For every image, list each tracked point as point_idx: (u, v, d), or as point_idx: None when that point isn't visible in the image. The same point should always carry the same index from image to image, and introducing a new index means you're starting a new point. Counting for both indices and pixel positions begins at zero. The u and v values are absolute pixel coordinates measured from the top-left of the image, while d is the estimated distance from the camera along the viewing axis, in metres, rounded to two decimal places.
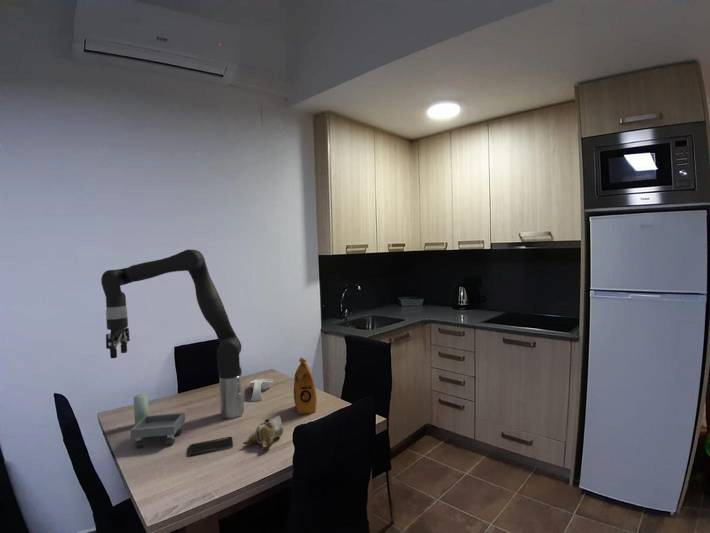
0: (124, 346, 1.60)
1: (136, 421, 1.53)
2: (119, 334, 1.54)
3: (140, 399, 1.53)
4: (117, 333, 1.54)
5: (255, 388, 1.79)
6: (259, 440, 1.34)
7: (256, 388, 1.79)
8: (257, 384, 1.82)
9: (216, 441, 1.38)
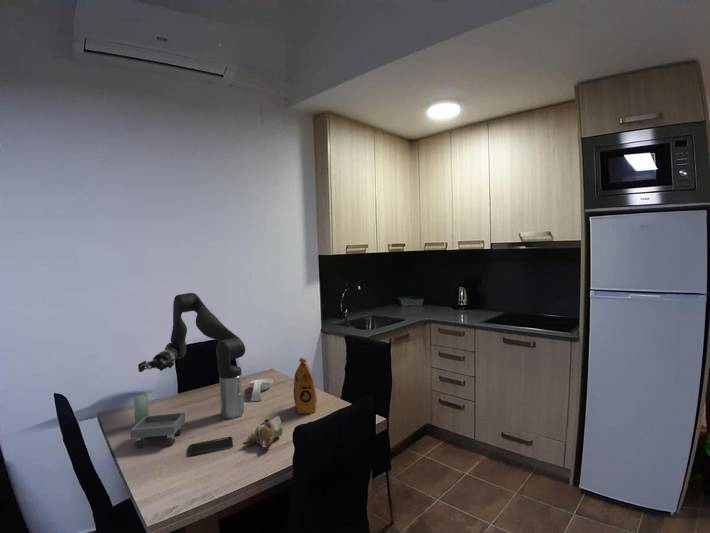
0: None
1: (136, 421, 1.53)
2: None
3: (140, 399, 1.53)
4: None
5: (255, 388, 1.79)
6: (259, 440, 1.34)
7: (256, 388, 1.79)
8: (257, 384, 1.82)
9: (216, 441, 1.38)
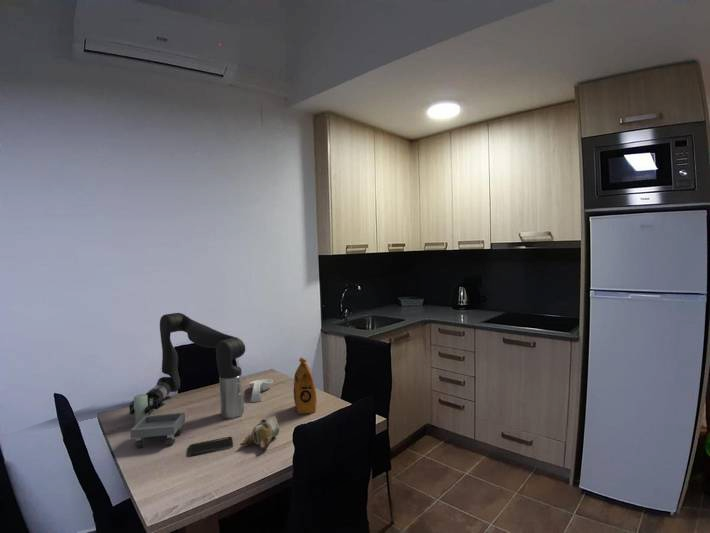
0: None
1: (136, 421, 1.53)
2: None
3: (140, 399, 1.53)
4: None
5: (254, 389, 1.78)
6: (256, 441, 1.33)
7: (255, 389, 1.78)
8: (256, 385, 1.81)
9: (216, 441, 1.38)
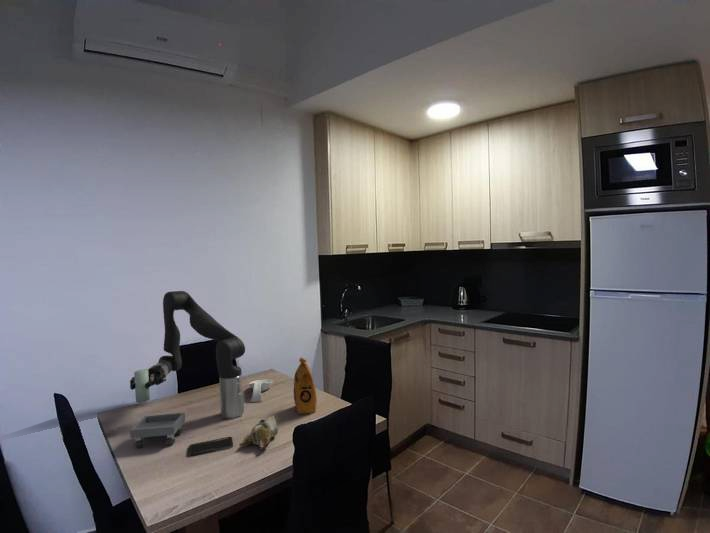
0: None
1: (137, 396, 1.50)
2: None
3: (140, 374, 1.50)
4: None
5: (255, 389, 1.78)
6: (255, 441, 1.33)
7: (256, 389, 1.78)
8: (257, 385, 1.80)
9: (216, 441, 1.38)
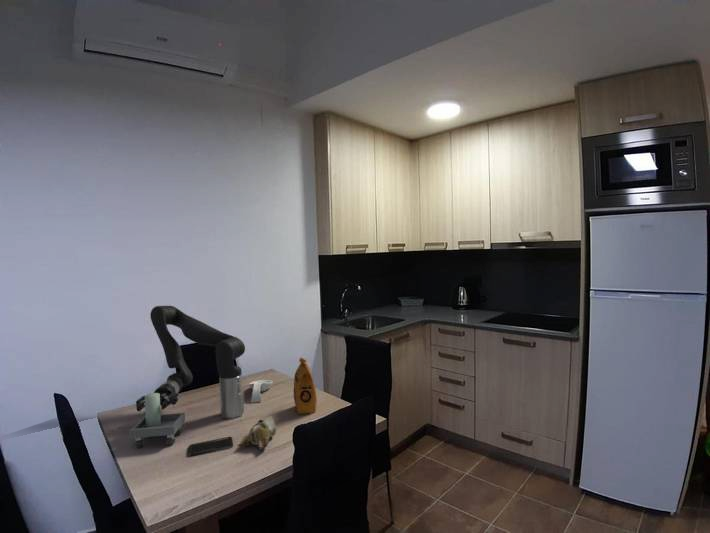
0: None
1: (147, 422, 1.39)
2: None
3: (151, 398, 1.39)
4: None
5: (254, 389, 1.77)
6: (254, 441, 1.33)
7: (255, 389, 1.77)
8: (256, 385, 1.80)
9: (216, 441, 1.38)
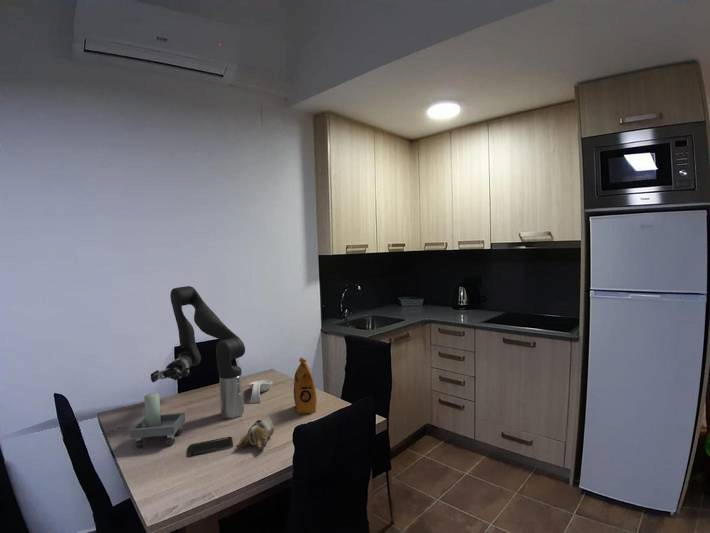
0: None
1: (147, 423, 1.39)
2: None
3: (151, 399, 1.38)
4: None
5: (254, 390, 1.77)
6: (253, 441, 1.33)
7: (255, 390, 1.77)
8: (256, 386, 1.80)
9: (216, 441, 1.38)
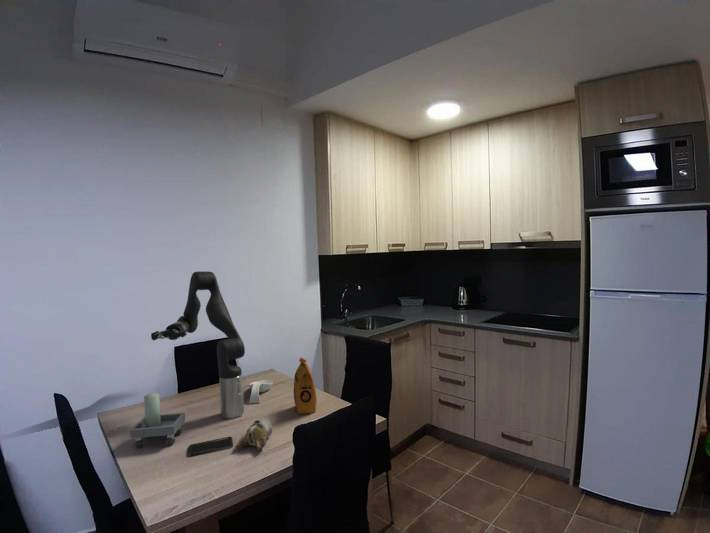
0: None
1: (147, 423, 1.39)
2: None
3: (151, 399, 1.38)
4: (165, 331, 1.76)
5: (253, 390, 1.77)
6: (251, 442, 1.33)
7: (254, 390, 1.77)
8: (255, 386, 1.79)
9: (216, 441, 1.38)
